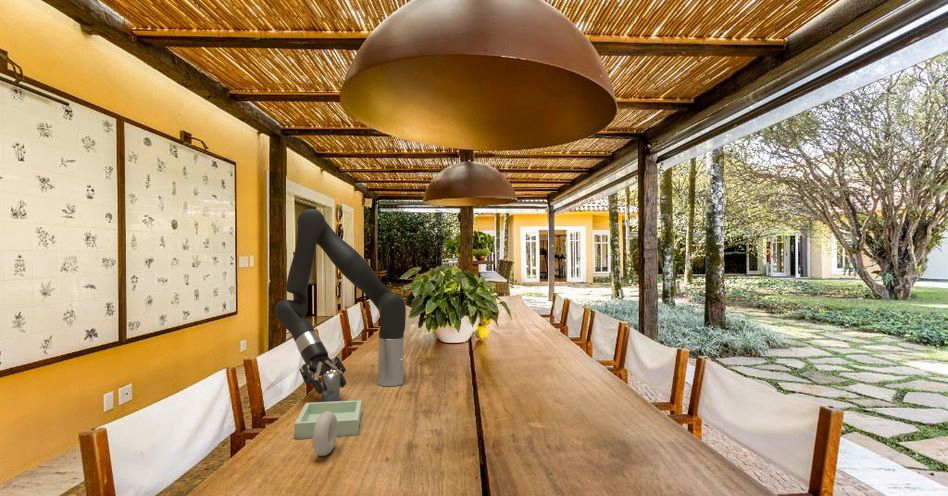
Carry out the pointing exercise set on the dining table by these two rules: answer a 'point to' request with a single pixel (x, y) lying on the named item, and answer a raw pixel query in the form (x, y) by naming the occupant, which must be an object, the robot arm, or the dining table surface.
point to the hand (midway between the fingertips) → (333, 389)
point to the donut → (325, 433)
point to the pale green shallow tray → (343, 410)
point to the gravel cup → (331, 386)
